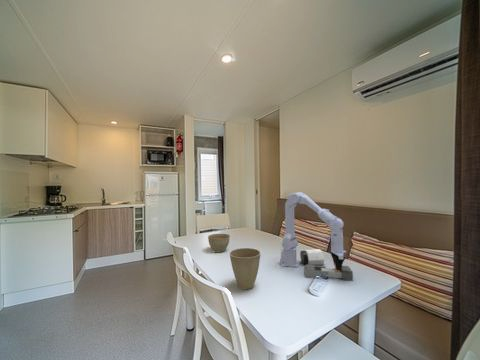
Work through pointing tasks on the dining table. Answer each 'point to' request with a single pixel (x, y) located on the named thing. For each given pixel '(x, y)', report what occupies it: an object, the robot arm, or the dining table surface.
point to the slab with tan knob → (333, 272)
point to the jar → (312, 257)
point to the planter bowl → (218, 242)
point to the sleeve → (313, 271)
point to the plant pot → (245, 266)
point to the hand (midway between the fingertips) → (337, 268)
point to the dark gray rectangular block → (347, 273)
